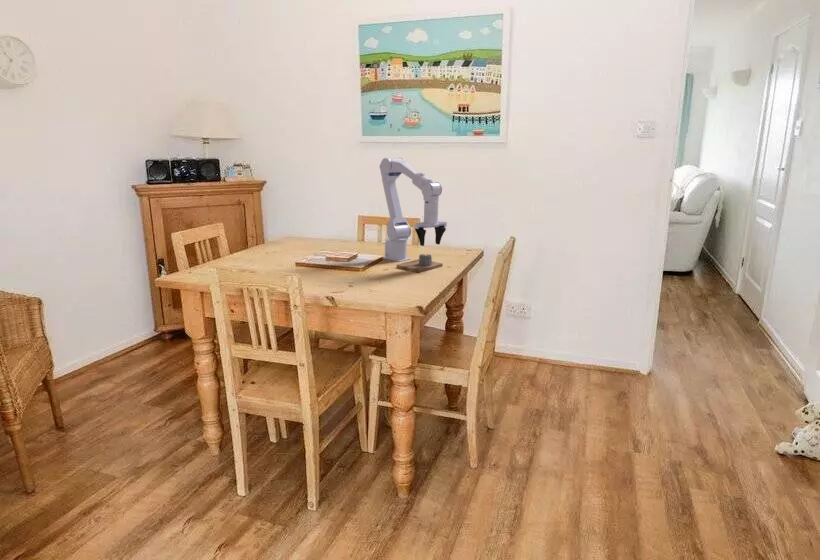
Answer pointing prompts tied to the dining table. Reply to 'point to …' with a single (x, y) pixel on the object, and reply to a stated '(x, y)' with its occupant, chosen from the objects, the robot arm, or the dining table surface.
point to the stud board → (418, 266)
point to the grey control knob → (425, 259)
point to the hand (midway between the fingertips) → (429, 244)
